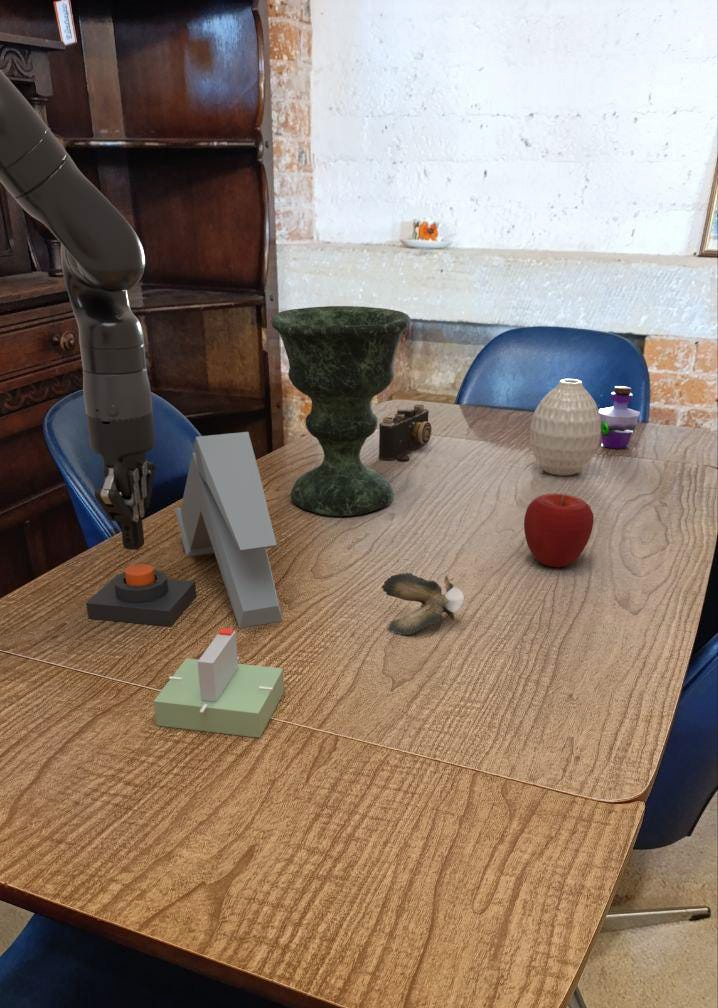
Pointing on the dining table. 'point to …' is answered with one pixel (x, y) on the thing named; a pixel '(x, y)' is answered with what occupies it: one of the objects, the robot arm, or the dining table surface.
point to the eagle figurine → (422, 601)
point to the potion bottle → (618, 420)
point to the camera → (404, 433)
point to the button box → (142, 601)
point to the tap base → (221, 701)
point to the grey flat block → (218, 665)
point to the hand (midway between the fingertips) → (134, 547)
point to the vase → (565, 429)
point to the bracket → (231, 523)
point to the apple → (557, 528)
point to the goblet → (341, 398)
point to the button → (139, 575)
